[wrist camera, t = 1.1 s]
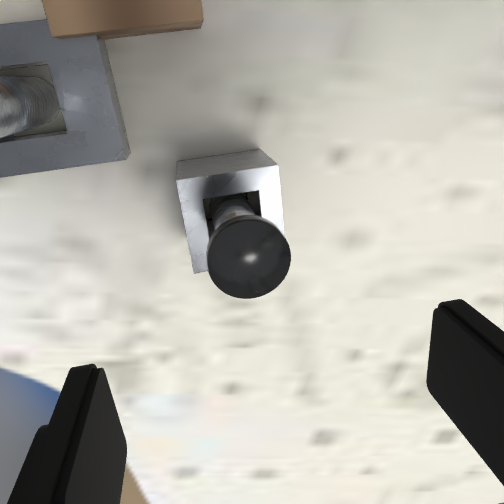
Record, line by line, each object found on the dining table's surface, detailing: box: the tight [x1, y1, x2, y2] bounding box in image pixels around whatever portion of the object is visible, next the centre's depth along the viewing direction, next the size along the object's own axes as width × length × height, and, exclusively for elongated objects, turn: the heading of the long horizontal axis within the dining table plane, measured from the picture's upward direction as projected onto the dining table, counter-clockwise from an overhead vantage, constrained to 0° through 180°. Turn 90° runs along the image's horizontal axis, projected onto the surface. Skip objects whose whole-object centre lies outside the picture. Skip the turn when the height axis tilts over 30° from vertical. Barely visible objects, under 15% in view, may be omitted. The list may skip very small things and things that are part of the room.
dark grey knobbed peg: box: [206, 193, 291, 299], centre depth 23 cm, size 4×4×9 cm
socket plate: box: [0, 20, 131, 178], centre depth 25 cm, size 10×8×2 cm
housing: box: [176, 149, 285, 273], centre depth 27 cm, size 6×6×6 cm
